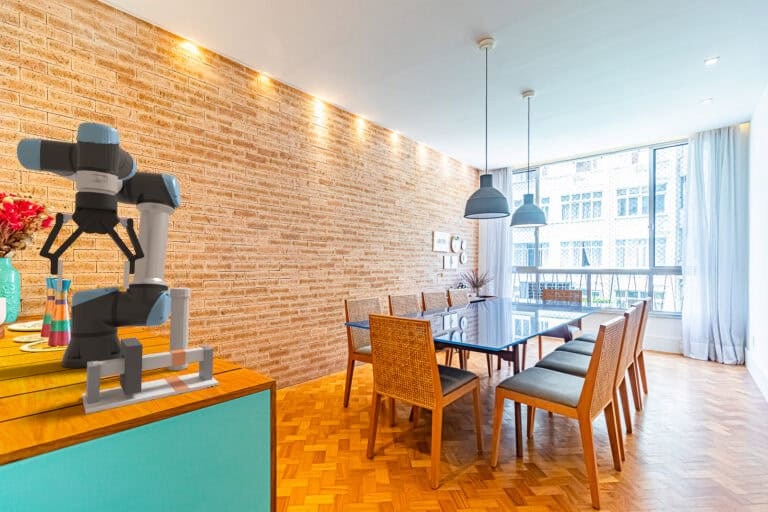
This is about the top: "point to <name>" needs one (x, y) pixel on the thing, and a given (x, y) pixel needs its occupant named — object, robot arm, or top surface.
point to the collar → (131, 365)
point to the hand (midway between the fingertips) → (94, 289)
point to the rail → (152, 389)
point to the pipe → (179, 321)
